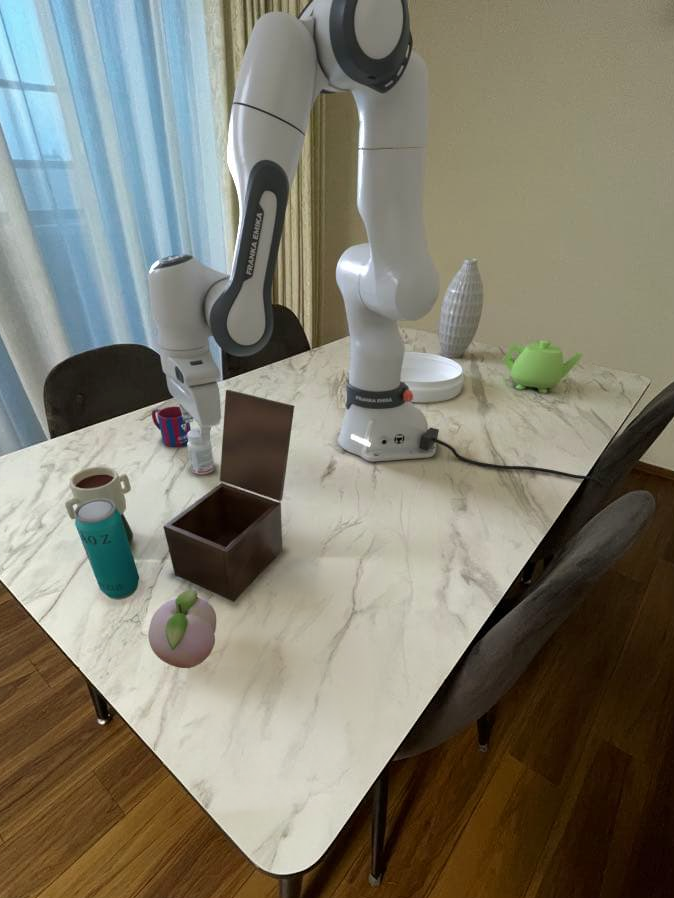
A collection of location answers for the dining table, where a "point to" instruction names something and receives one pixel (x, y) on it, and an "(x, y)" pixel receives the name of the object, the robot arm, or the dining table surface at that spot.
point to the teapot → (538, 365)
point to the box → (225, 540)
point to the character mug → (100, 490)
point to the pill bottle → (199, 453)
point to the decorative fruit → (183, 630)
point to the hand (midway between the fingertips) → (196, 430)
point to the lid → (255, 443)
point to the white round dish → (431, 377)
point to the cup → (172, 426)
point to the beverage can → (107, 547)
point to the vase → (461, 310)
